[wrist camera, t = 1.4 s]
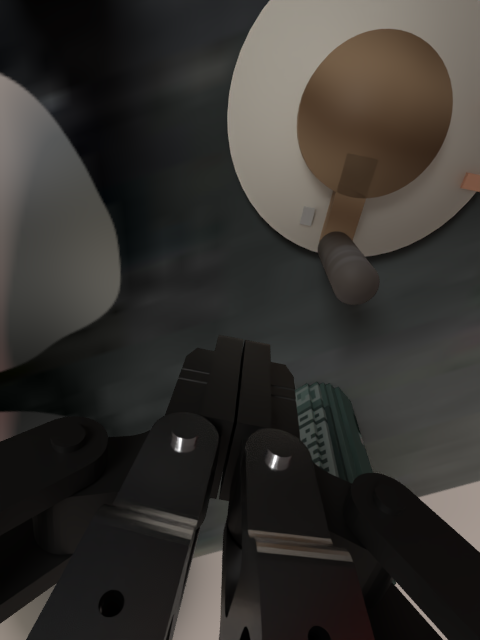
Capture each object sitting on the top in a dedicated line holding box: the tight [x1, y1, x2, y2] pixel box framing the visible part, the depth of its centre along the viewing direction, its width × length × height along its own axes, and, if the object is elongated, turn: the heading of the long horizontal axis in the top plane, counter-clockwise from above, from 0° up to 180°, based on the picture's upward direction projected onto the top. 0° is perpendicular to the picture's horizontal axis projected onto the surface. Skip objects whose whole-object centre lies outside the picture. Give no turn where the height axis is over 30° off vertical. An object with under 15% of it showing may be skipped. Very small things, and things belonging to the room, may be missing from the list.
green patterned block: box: [295, 382, 396, 585], centre depth 30 cm, size 6×6×15 cm
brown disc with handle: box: [297, 29, 453, 305], centre depth 22 cm, size 14×9×8 cm, turn 169°
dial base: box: [227, 0, 480, 257], centre depth 25 cm, size 18×18×2 cm
